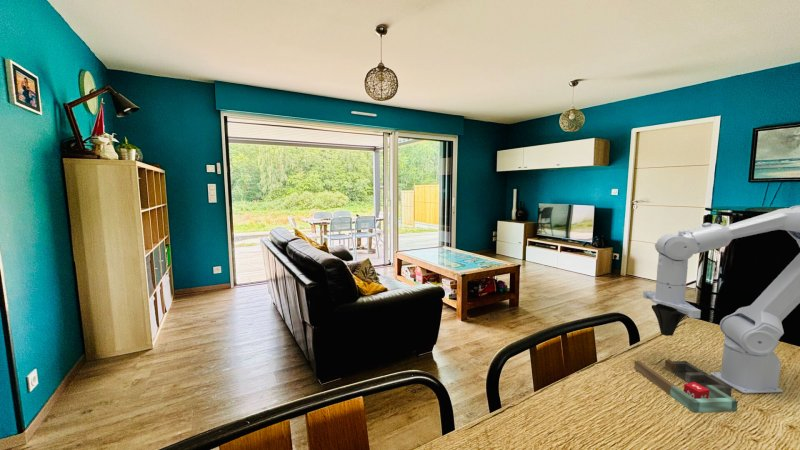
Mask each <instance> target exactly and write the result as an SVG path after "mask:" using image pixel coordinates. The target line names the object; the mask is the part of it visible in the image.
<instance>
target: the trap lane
mask: <svg viewBox="0 0 800 450" xmlns="http://www.w3.org/2000/svg"><path fill="white" fill-rule="evenodd" d="M633 363H634V365H633V367H634V368H633V369H634V370H635V371H636V372H638V373H639V374H641V375H642V376H643V377H645V378H646V379H647V380H649V381H650V382H652V383H653V384H654V385H655V386H657V387H658V388H660V389H661V390H662V391H663V392H665V393H667V394H668V395H669V397H670V396H671V397H672V398H673V399H675V400H676V401H677V402H678V403H680V404H681V405H683V407H685V408H687V409H688V410H689V411H691V412H692V413H711V412H713V413H714V412H717V413H718V412H737V410H738V400H736V399H735V398H733V397H732V391H733V387H731V386H730V385H728V384H726V383H725V382H723V381H721V380H719V379H718V378H716V377H714V376H712V375H711V374H710V373H708V372H705V371H704V370H702V369H701V368H699V367H697V366H695V365H693V364H692V363H690V362H688V361H686V360H676V361H674V360H671V359H665V361H664V368H665V369H666V370H667V371H669V372H670V373H671V374H673V375H675V376H677V377H678V378H680V379H681V380H683V381H685V382H686V384H687V383H692V382H695V383H697V384H699V385H701V386H703V387H705V388H707V389H709V398H703V399H694V398H693V397H691V396H690V395H688V394H687V393H685V392H684V389H681V388H680V387H678V386H677V385H675V384H674V383H672V382H671V381H669V379H667V378H665V377H663V375H661V374H659V373H658V372H656V371H655V370H653V369H652V368H650V367H649V366H648V365H646V364H645V363H643V362H642V361H640V360H634V362H633Z"/></svg>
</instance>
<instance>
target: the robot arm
mask: <svg viewBox="0 0 800 450" xmlns="http://www.w3.org/2000/svg"><path fill="white" fill-rule="evenodd" d="M778 230H781V231H786V232H787V233H788V234H789V235H790V236H791V237H792V238H793V239H794V240H796V243H797V244H798V247H799V248H800V204H799V205H793V206H790V207H789V208H787V207H785V208H778V209H776V210H773V211H769V212H767V213H763V214H760V215H757V216H753V217H751V218H746V219H743V220H740V221H737V222H734V223H730V224H727V225H722V224H719V223H715V222H714V223H711V222H705V223H702V224H701V226H700V227H697V228H693V229H688V230H684V229H681V230H678V233H677V234H673V233H668V234H663V235H661V236H660V237H659V238H658V239H657V240H656V243H654V247H655V250H656V251H657V252H658V261H657V266H656V267H657V268H656V282H655V283H656V284H655V291H652V290H643V291H642V293H643V294H642V298H643V299H646V300H647V299H648V300H651V302H652V303H655V304H652V305H651V309H652V311H653V313H654V314H655V318H656V319H657V323H658V327H659V332H660V334H661V335H663V336H665V337H666V336H667V337H669V336H670V337H671V336H674V333H675V331H676V330H677V327H678V325H679V324H680V322H681V321H682V319H684V317H686V316H687V317H688V318H691V319H701V312H702V310H701V309H698V308H696V307H695V306H694V305H692V304H690V303H689V302H687V301H686V293H687V292H686V291H687V290H686V289H687V277H688V267H689V266H688V263H689V259H690V258H692V257H693V255H697V254H700V253H704V252H708V251H712V250H715V249H721V248H725V247H728V246H729V245H730V243H731V242H732V241H733V240H734V239H738V238H743V237H744V238H745V237H749V236H753V235H757V234H763V233H768V232H771V231H778ZM799 304H800V252H799V253H798V254H797V255H796V256H795V257H794V259H793V260H792V261H791V262H789V264H787V265H786V267H785V268H784V269H782V271H781V272H780V274H778V275H777V277H776V278H775V279H773V280H772V282H771V283H770V284H769V285H768V286H767V287H766V288H765V289H764V290H763V291H762V292H761V294H760V295H758V297H757V298H756V299H755V300H754V301H753V302H752V303H751V304H750V305H747V306H741V307H739V308H738V309H736V310H735V312H733V313H731V314H729V315H726V316H724V317H723V318H722V319H721V320H720V323H719V329H720V331H721V333H722V334H723V335H724V342H723V349H722V350H723V351H722V361H721V362H722V363H721V371H713V372H712V371H711V372H710V373H709V375H711V376H713V377H714V378H716V379H718V380H719V381H721V382H723V383H725V384H726V385H728V386H730V387H732V389H735V390H737V391H739V392H740V393H743V394H764V393H765V394H766V393H767V394H769V393H771V394H773V393H783V389H781V388H780V387H779V383H780V375H781V366H782V365H781V363H782V362H781V361H780V358H779V357H778V355H777V354H776V353H775V352H774V351H776V349H777V348H778V345H779V341H780V339H781V337H782V336H783V335H784V334H785V332H784V328H783V324H782V322H783V320H784V319H785V318H787V316H788V315H789V314H790V313H791V312H793V310H794V309H796V308H797V306H798V305H799Z"/></svg>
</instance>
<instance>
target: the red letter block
mask: <svg viewBox="0 0 800 450" xmlns="http://www.w3.org/2000/svg"><path fill="white" fill-rule="evenodd" d="M683 391H684V392H685V393H687V394H688V395H690V396H691V397H693V398H694V399H703V398H710V397H709V389H707V388H705V387H703V386H701V385H699V384H697V383H695V382H692V383H687V382H686V383H684V384H683Z"/></svg>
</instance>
